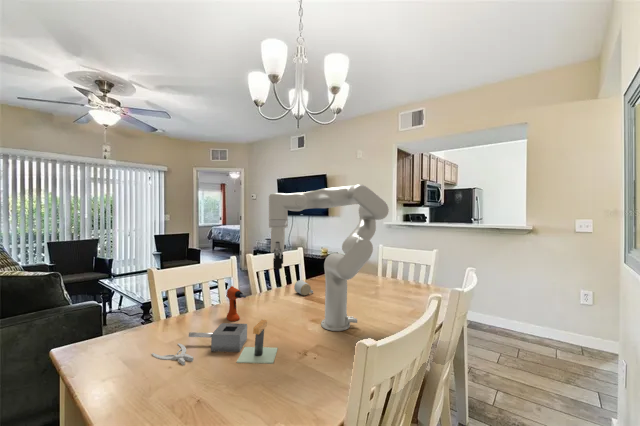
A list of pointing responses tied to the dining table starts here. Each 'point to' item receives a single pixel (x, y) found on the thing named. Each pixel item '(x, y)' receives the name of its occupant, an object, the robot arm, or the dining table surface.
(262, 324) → the chuck key
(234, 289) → the toy drill
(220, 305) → the dining table surface
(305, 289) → the ceramic mug
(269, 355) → the mat
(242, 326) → the block
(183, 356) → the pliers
